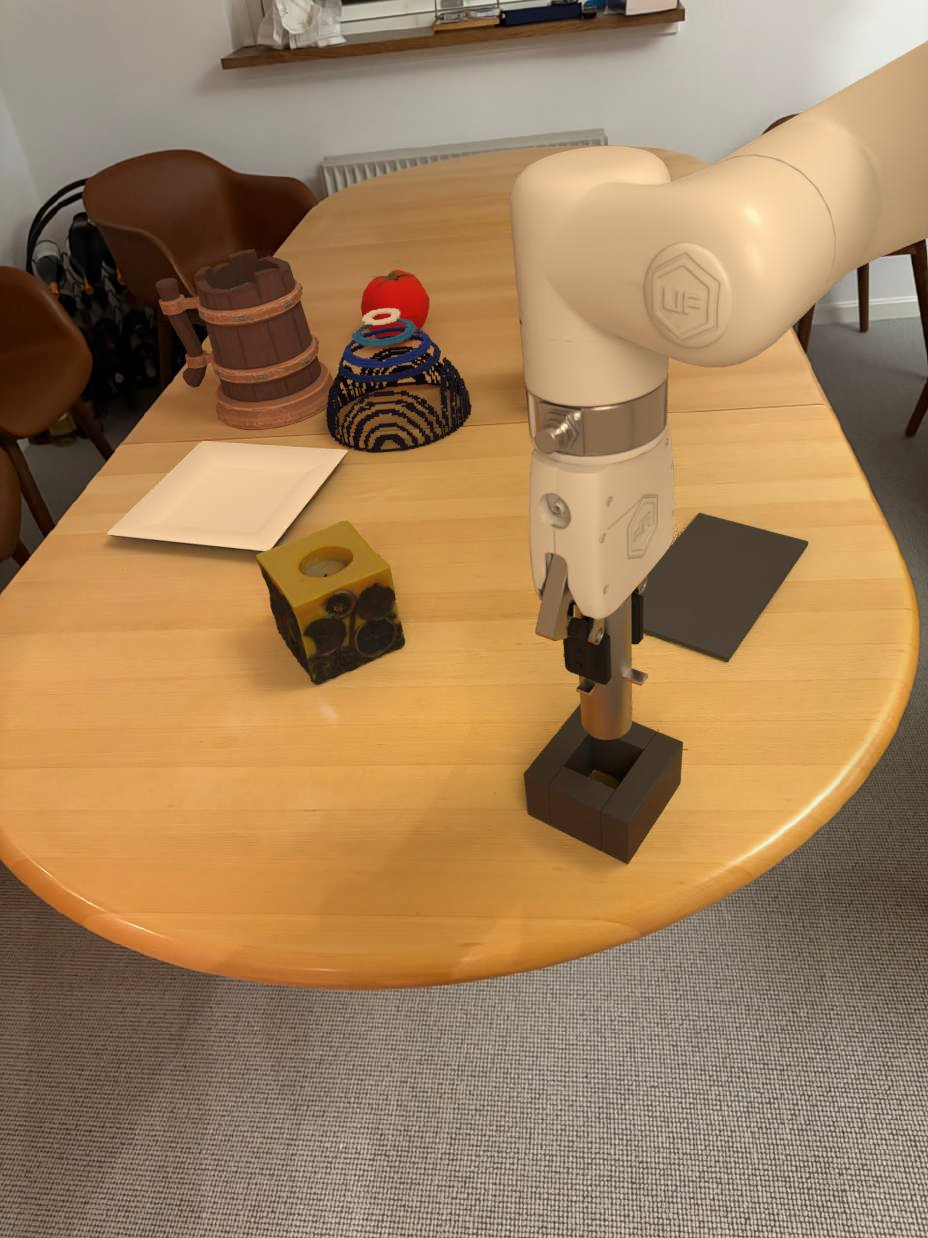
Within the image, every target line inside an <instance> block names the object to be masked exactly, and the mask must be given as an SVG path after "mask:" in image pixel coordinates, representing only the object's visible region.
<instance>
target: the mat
mask: <svg viewBox="0 0 928 1238" xmlns="http://www.w3.org/2000/svg"><path fill="white" fill-rule="evenodd" d="M808 546H809V541H808V540H806V539H802V538H798V537H795V536H791V535H786V534H783V533H779V532H775V531H771V530H767V529H763V528H759V527H756V526H752V525H749V524H745V523H742V522H741V523H740V522H737V521H733V520H730V519H726V518H722V517H717V516H715V515H714V516H713V515H710V514H706V513H702V512H698V513H697V514H696V515H695V517H694V518H693V519H692V520H691V522H689V524H688V525H687V526H686V527H685V529H683V531H682V532H681V533H680V534H679V535H678V536H677V538H676V539H675V540H674V541H673V542H672V543H671V545H670V546H669V548H668V550H667V551H666V552H665V554H664V555H663V556H662V558H661V559H660V560H659V561H658V562H657V564H656V565H655V566H654V567H653V568H652V570H651V571H650V572H649V573H648V574H647V584H646V587H645V589H644V591H643V592H642V593H638V594H639V595H642V596H644V611H643V634H646V635H649V636H652V637H655V638H657V639H660V640H662V641H666V642H668V643H671V644H674V645H678V646H680V647H683V648H686V649H689V650H692V651H694V652H697V653H701V654H703V655H706V656H710V657H712V658H715V659H717V660H720V661H724V662H726V663H729V661H730V660H731V659H732V657H733V655H734V654H735V653H736V651H737V650H738V649H739V647H740V645H741V644H742V642H743V641H744V639H745V638H746V636H747V635H748V634H749V632H750V631H751V629H752V628H753V627H754V625H755V623H756V622H757V621H758V619H759V618H760V616H761V614H762V613H763V612H764V610H765V609H766V607H767V606H768V605H769V604H770V601H772V599H773V598H774V596H775V595H776V593H777V591H778V590H779V589H780V587H781V585H782V584H783V582H784V581H785V580H786V579H787V577H788V575H789V574H790V573H791V571H792V569H793V568H794V567H795V565H796V564H797V562H798V561H799V559H800V557H801V556H802V555H803V553H804V552H805V550H806V549H807V547H808Z"/></svg>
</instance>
